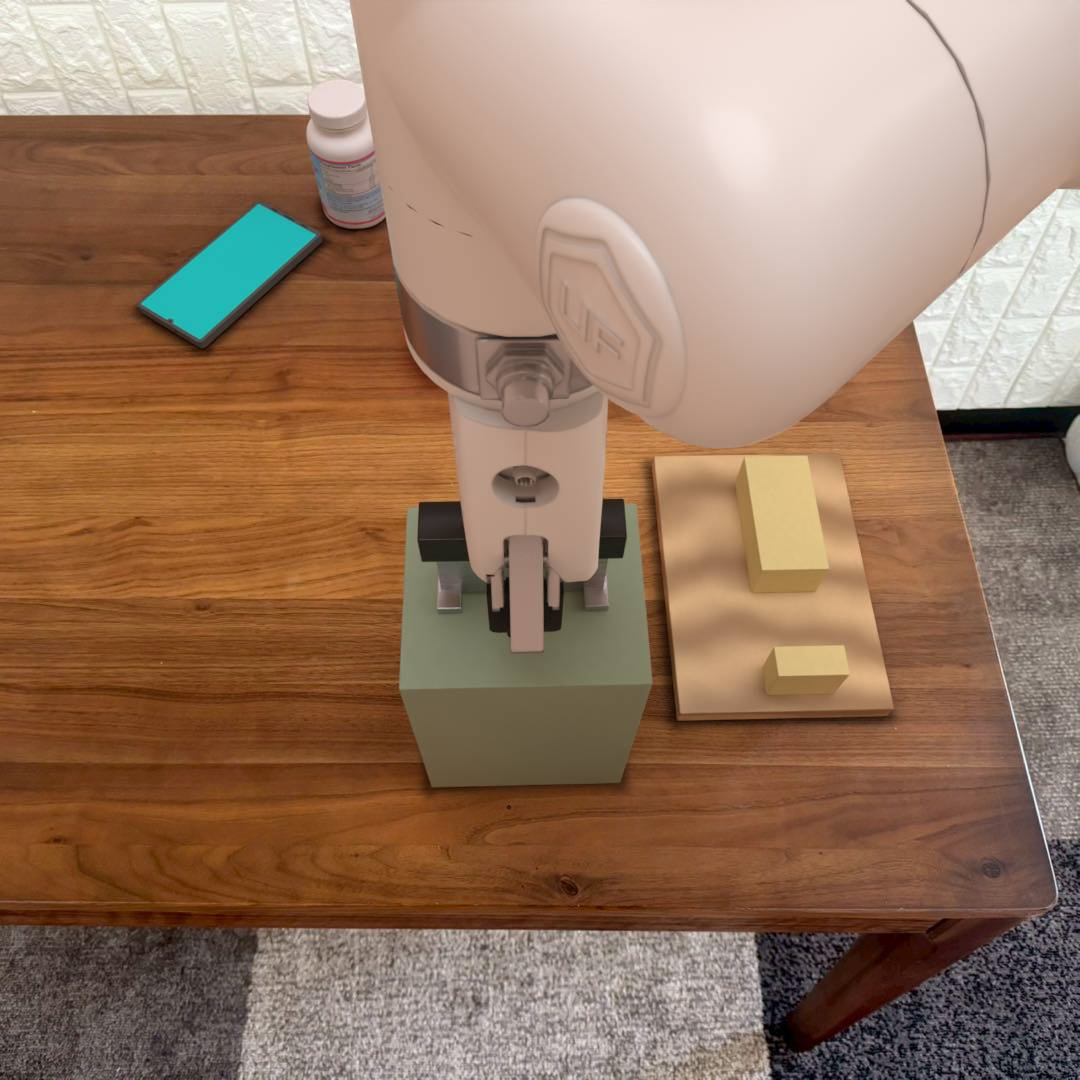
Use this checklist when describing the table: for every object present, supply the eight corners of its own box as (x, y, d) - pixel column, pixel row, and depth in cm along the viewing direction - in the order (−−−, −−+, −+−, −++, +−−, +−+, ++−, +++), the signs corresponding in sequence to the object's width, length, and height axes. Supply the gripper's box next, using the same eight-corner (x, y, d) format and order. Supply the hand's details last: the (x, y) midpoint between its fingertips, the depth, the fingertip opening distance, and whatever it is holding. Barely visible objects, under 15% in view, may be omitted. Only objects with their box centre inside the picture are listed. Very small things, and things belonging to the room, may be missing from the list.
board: (887, 716, 64) (894, 709, 62) (676, 721, 63) (679, 713, 62) (834, 463, 73) (839, 452, 72) (651, 466, 73) (653, 455, 72)
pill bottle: (334, 180, 87) (310, 68, 78) (399, 189, 87) (383, 77, 77) (315, 227, 85) (287, 116, 75) (382, 237, 84) (362, 127, 74)
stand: (620, 783, 61) (652, 683, 45) (431, 787, 61) (398, 689, 45) (610, 638, 66) (636, 503, 50) (435, 641, 66) (407, 506, 50)
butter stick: (815, 591, 66) (829, 568, 63) (750, 593, 66) (761, 570, 63) (795, 481, 71) (807, 455, 68) (734, 482, 70) (744, 456, 67)
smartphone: (322, 233, 83) (200, 343, 77) (324, 240, 84) (203, 350, 78) (259, 198, 85) (134, 303, 79) (261, 206, 86) (138, 311, 79)
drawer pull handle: (614, 611, 47) (627, 541, 41) (431, 614, 47) (416, 545, 41) (611, 567, 48) (623, 493, 42) (432, 570, 48) (418, 497, 42)
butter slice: (834, 693, 63) (850, 674, 60) (766, 695, 63) (778, 676, 59) (829, 665, 64) (844, 644, 61) (761, 666, 64) (773, 646, 60)
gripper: (672, 530, 25) (616, 738, 41) (626, 97, 33) (594, 410, 49) (383, 535, 25) (439, 742, 41) (409, 98, 33) (447, 412, 49)
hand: (523, 558), depth 45 cm, fingers open, 6 cm apart
